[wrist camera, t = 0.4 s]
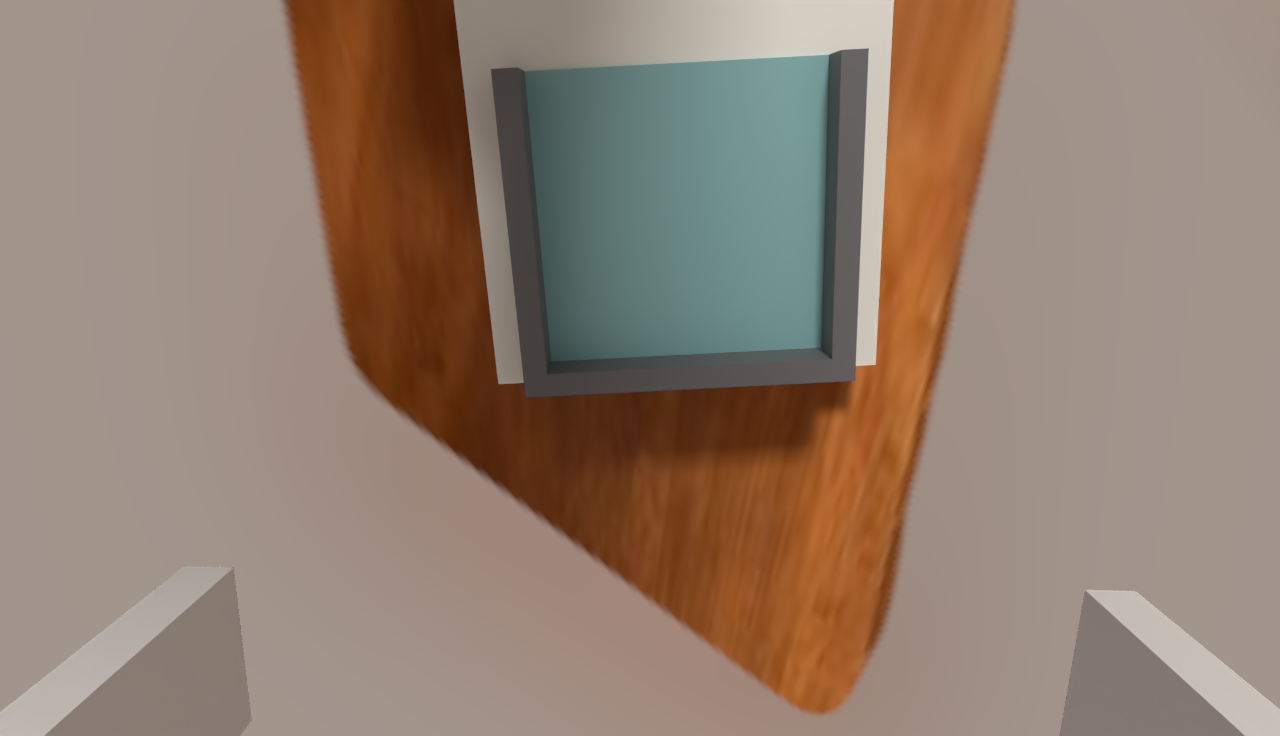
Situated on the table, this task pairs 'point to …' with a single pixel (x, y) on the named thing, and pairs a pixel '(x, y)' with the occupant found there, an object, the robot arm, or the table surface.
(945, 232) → the table surface
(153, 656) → the robot arm
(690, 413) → the table surface
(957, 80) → the table surface
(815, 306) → the dock
